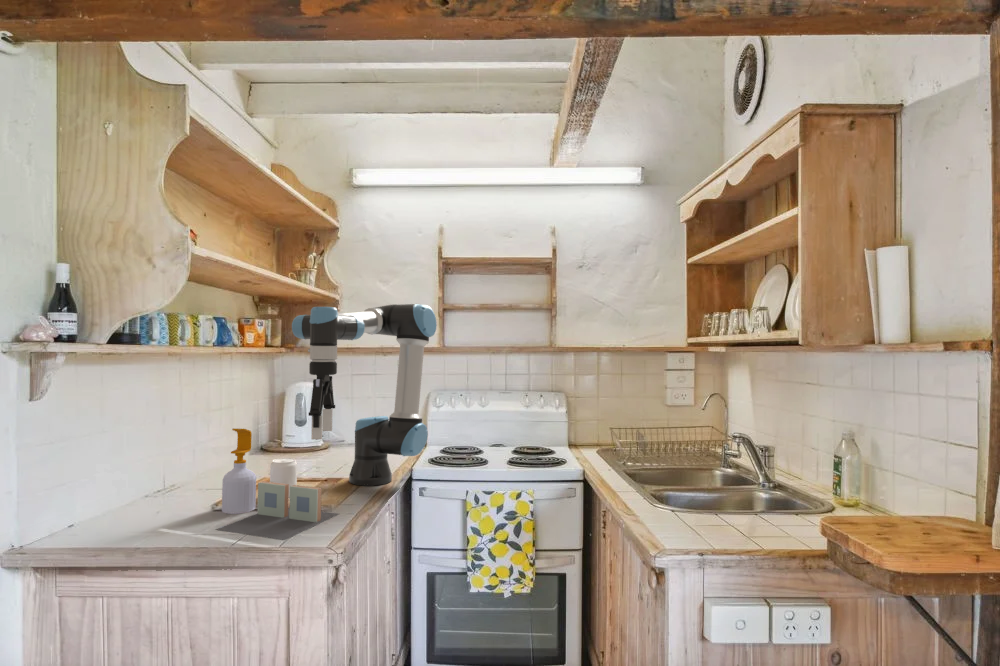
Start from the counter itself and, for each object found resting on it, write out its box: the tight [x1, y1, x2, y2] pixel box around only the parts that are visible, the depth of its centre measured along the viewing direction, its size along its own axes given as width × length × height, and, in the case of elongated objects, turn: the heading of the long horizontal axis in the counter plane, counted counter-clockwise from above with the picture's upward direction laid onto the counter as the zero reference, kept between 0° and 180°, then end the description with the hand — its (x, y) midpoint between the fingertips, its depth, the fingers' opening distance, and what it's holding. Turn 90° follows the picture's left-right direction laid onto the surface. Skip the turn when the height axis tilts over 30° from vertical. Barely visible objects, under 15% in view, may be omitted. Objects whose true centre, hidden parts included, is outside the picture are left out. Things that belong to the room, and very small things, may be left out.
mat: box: [215, 508, 340, 541], centre depth 162 cm, size 24×22×1 cm
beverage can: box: [269, 457, 298, 499], centre depth 188 cm, size 8×8×12 cm
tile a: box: [289, 484, 322, 522], centre depth 164 cm, size 2×9×9 cm, turn 71°
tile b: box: [256, 480, 289, 518], centre depth 167 cm, size 2×9×9 cm, turn 72°
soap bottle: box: [221, 428, 257, 515], centre depth 173 cm, size 9×9×25 cm
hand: (322, 435), depth 167 cm, fingers open, 13 cm apart
